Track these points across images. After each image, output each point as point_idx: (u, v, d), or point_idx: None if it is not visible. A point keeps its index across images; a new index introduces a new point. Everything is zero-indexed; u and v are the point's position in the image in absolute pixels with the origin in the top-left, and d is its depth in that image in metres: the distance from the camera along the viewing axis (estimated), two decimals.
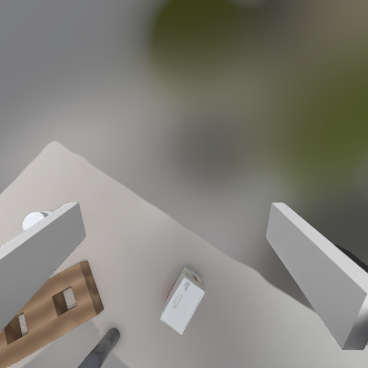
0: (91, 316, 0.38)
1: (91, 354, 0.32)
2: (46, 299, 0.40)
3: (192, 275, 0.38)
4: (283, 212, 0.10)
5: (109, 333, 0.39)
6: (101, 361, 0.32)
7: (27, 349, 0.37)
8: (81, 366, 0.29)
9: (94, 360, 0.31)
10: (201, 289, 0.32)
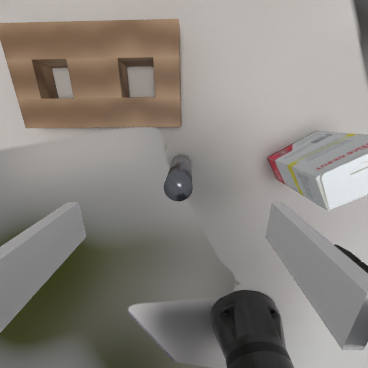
0: (172, 124, 0.24)
1: (183, 169, 0.20)
2: (107, 58, 0.22)
3: None
4: (283, 212, 0.10)
5: (185, 158, 0.27)
6: None
7: (71, 119, 0.25)
8: (178, 176, 0.18)
9: (191, 178, 0.20)
10: None
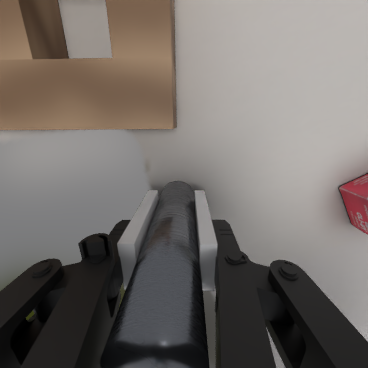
0: (155, 123, 0.11)
1: (177, 261, 0.07)
2: None
3: None
4: (196, 197, 0.13)
5: (184, 192, 0.14)
6: None
7: None
8: (155, 339, 0.04)
9: (201, 300, 0.06)
10: None
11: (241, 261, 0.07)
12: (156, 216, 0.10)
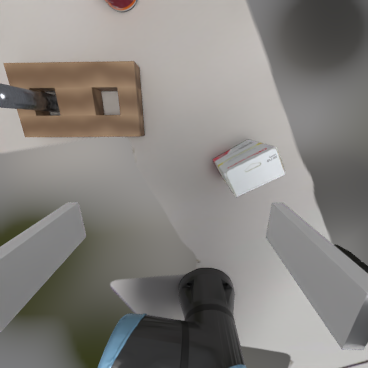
0: (134, 134, 0.33)
1: None
2: (84, 87, 0.30)
3: None
4: (283, 212, 0.10)
5: None
6: (28, 102, 0.26)
7: (59, 131, 0.33)
8: None
9: (16, 92, 0.25)
10: (283, 169, 0.26)
11: None
12: None
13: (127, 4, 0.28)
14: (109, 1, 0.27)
